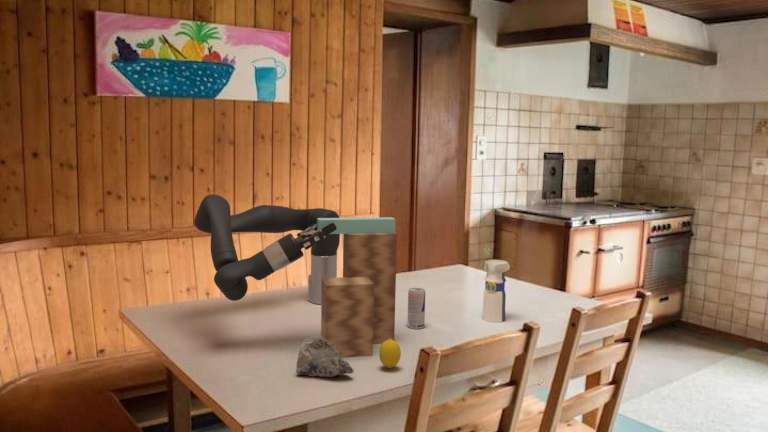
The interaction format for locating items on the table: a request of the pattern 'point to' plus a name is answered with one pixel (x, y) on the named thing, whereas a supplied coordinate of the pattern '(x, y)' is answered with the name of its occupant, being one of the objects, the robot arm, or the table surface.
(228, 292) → the robot arm
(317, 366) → the mineral rock
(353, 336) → the low stand
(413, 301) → the energy drink
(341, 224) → the teal bar
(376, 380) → the table surface
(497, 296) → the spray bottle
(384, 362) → the lemon
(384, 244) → the tall stand
